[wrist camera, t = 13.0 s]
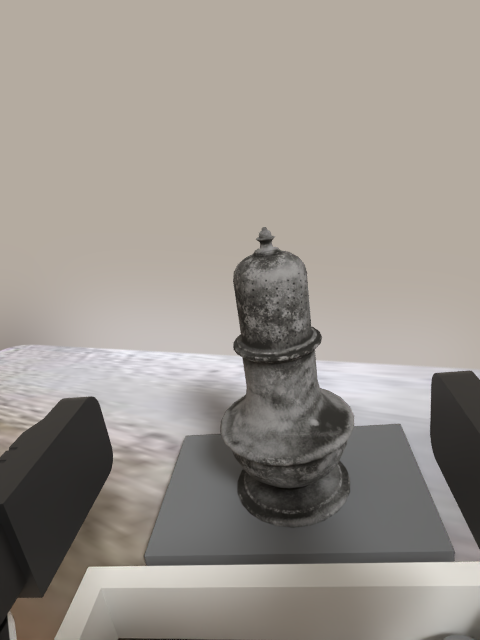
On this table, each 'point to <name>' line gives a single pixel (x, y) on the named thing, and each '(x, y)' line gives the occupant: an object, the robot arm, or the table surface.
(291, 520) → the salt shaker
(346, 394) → the table surface
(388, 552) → the rubber mat
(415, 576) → the frame
